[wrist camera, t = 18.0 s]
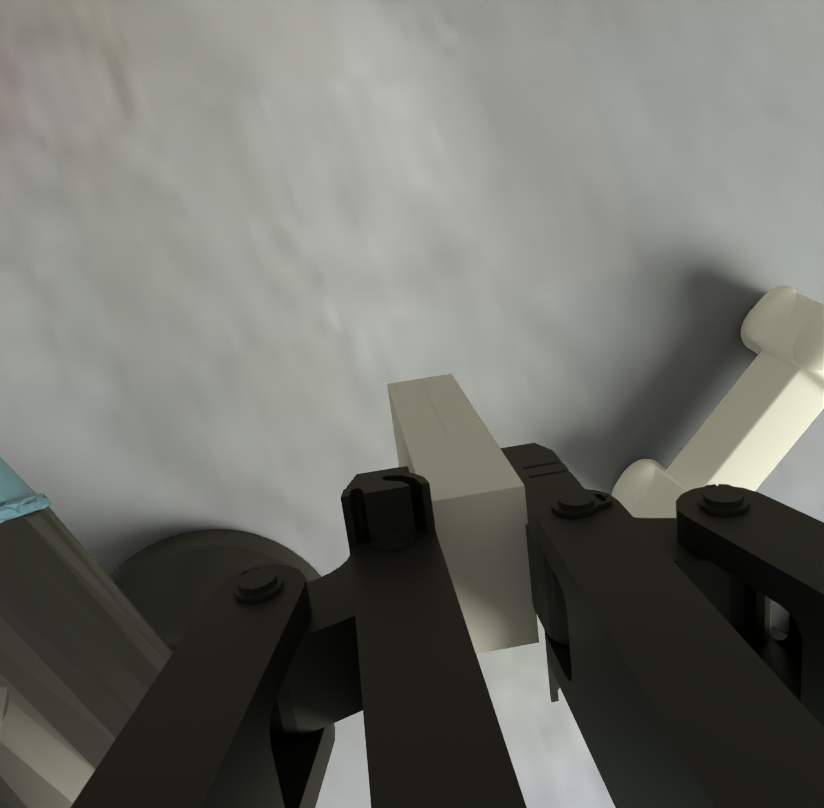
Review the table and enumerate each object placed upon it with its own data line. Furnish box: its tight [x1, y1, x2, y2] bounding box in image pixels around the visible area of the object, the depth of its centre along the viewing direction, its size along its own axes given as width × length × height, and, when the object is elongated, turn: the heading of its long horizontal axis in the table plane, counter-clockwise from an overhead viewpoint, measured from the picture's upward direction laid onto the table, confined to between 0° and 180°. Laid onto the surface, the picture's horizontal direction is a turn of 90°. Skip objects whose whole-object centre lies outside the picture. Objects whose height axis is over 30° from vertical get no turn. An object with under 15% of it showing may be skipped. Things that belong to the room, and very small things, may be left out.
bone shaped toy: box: [611, 286, 824, 518], centre depth 42 cm, size 15×9×8 cm, turn 145°
